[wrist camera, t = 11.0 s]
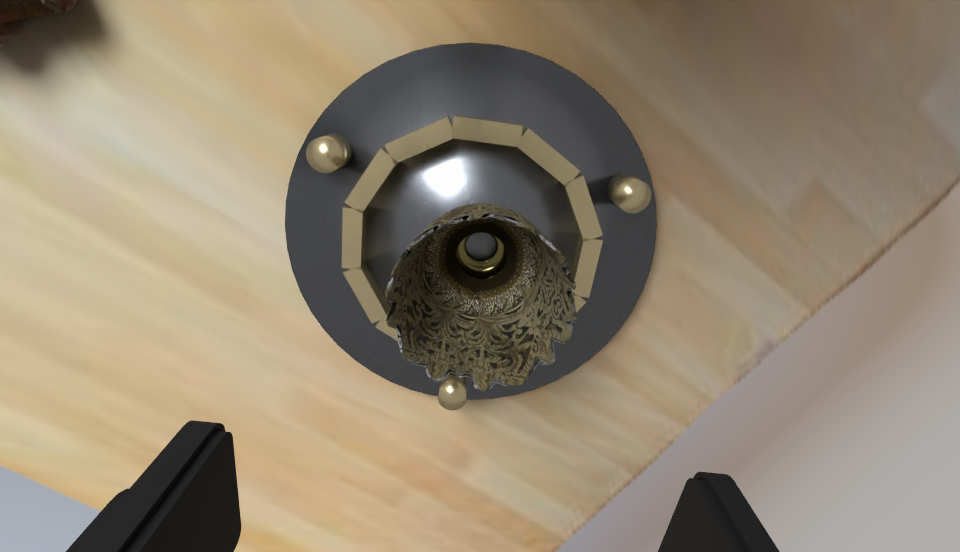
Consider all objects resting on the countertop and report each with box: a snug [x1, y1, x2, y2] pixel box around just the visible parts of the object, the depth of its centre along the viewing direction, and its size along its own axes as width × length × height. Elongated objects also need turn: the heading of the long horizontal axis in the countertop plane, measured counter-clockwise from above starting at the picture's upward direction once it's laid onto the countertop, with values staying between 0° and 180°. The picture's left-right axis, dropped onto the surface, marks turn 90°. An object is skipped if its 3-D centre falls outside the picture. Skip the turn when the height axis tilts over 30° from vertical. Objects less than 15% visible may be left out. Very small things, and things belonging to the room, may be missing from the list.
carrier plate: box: [285, 43, 657, 410], centre depth 25 cm, size 20×20×3 cm
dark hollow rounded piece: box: [385, 203, 577, 391], centre depth 21 cm, size 8×7×8 cm
